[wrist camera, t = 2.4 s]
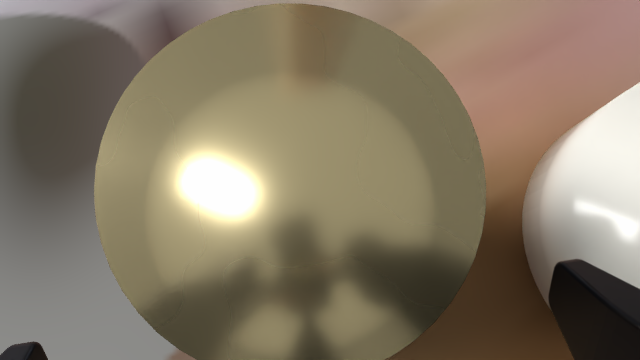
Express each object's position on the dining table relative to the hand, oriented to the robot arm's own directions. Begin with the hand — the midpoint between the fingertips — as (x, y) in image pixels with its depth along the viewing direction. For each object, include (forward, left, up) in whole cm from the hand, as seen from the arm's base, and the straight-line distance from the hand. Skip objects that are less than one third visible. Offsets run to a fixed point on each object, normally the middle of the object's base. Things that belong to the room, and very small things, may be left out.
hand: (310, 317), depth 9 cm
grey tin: (+2, 0, -10) cm, 10 cm away
